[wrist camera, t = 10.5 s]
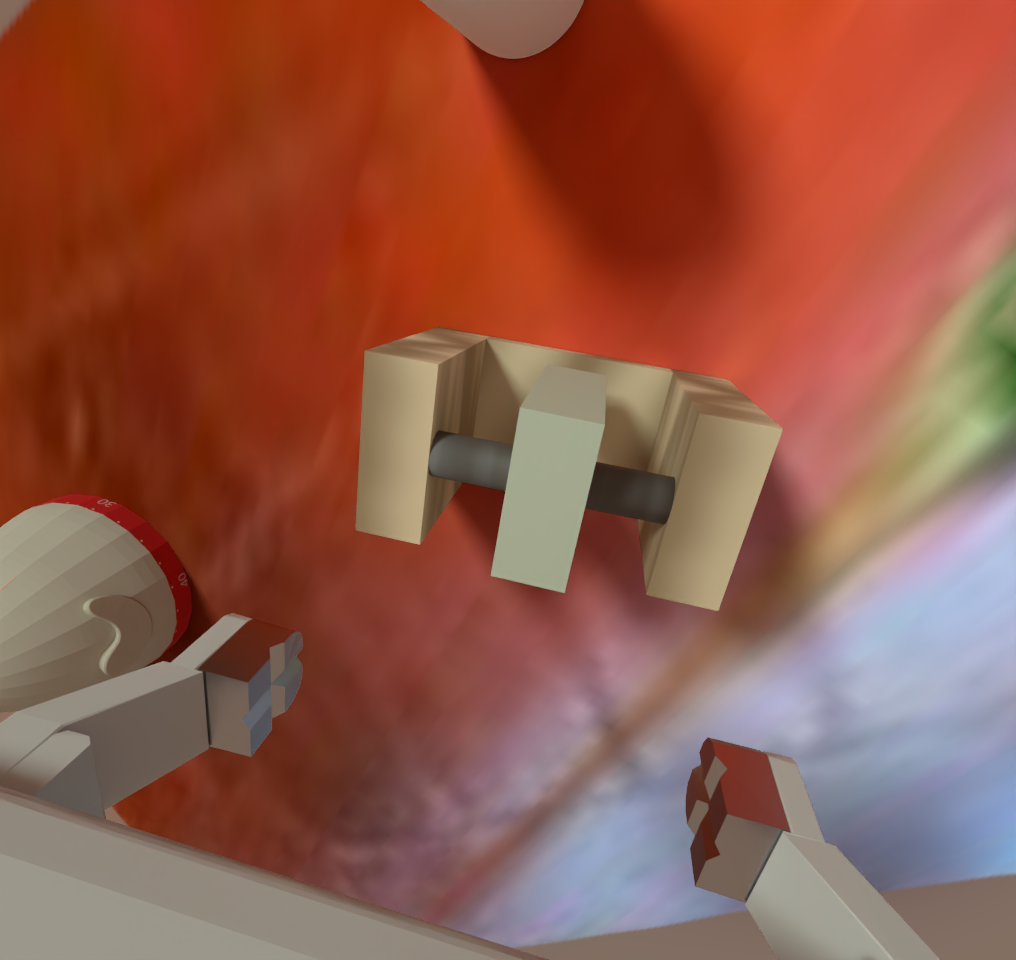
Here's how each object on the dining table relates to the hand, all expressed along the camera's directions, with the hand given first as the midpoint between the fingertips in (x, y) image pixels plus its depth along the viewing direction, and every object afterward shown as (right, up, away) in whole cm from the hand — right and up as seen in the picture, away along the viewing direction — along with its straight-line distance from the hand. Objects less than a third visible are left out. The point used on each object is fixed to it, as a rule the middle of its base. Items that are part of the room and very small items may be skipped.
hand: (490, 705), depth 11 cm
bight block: (+3, +7, +18) cm, 19 cm away
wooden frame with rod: (+4, +8, +21) cm, 22 cm away
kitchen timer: (-30, -3, +31) cm, 43 cm away
